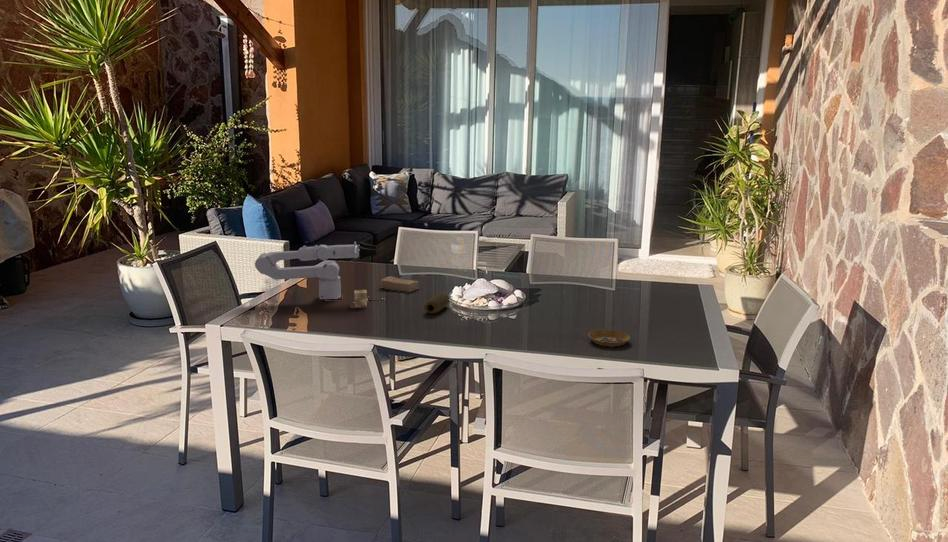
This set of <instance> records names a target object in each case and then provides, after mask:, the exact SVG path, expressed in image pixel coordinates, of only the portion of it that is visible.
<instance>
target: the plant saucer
mask: <svg viewBox="0 0 948 542" xmlns="http://www.w3.org/2000/svg"><path fill="white" fill-rule="evenodd" d="M588 337H589V339H591V341H592V342H593V343H595V344H596V345H598V344H599V346H601V345H602V346H603V347H607V346H609V347H610V348H611V347H612V348H614V347H615V346H617V347H621V345H622V346H624V345H625V344H626V343H628V341H629V340H630V339H631V337H630V334H628V333H625V332H624V331H623V332H622V331H619V330H614V329H596V330H592V331H590V332H589V333H588ZM605 337H607V338H608V339H609V340H610V339H612V338H613V339H612V340H611V341H617V340H616V338H619V339H621V340H623V342H604V341H600V340H602V339H603V338H605ZM609 347H608V348H609ZM615 348H616V347H615Z"/></svg>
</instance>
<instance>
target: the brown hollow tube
mask: <svg viewBox="0 0 948 542" xmlns="http://www.w3.org/2000/svg"><path fill="white" fill-rule="evenodd" d="M449 303H450V296H449V295H448V294H447V293H446V292H443V291H441V292H438V293H437V294H435V295H433V297H431V298H430V299H429V300H428V301H426V303H425V304H424V306H423V309H424V311H425V312H426V313H427V314H432V315H433V314H437V313H439V312H440V311H442V310H443V309H444V308H445V307H446V306H448V304H449Z"/></svg>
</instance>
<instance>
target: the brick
mask: <svg viewBox="0 0 948 542" xmlns="http://www.w3.org/2000/svg"><path fill="white" fill-rule="evenodd" d="M379 287H380V289H382V288H387V289H392V290H391V291H393V290H399V291H398V292H400V291H406V292H405V293H408V292H411V291H413V292H415V291H414V290H416V289H419V287H420V286H419V281H418V280H413V279H404V278H398V277H395V276H386V277H384V278H382V279H380V281H379ZM387 289H386V290H387ZM416 291H417V290H416ZM411 293H412V292H411Z"/></svg>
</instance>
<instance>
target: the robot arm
mask: <svg viewBox="0 0 948 542" xmlns="http://www.w3.org/2000/svg"><path fill="white" fill-rule="evenodd" d="M377 253H378V252H377V245H373V244H369V243H365V242H362V241H359V244H357V241H354V243H353V244H334V245H327V244H319V245H318V244H316V245H313V246H307V245H303V246H302V247H300V248H299V249H298V250H286V251H282V250H281V251H270V252H268V253H265V252H263V253H261V254H260V255H259V256H258V258H257V259H256V260H255V262H254V267H255V269H256V270H257V271H258V272H259V273H260V275H264V276H267V277H269V278H271V279H273V280H279V281H280V280H292V279H309V278H319V279H318V298H319V299H338V298H340V297H341V295H342V292H341V291H342V287H341V286H342V285H341V284H342V283H341V281H342V280H341V276H340V275H339V273H340V269H341V268H340V265H339V264H338V263H337V262H336V261H329V262H327V263H323V264H318V265H308V266H305V265H304V266H290V267H280V266H279V265H278V262H281V261H285V260H293V259H295V260H296V259H299V260H300V261H302V262H303V261H305V262H306V261H317V259H318V260H320V261H327V260H328V259H353V258H354V259H358V258H359V261H362V260H364V259H367V258H370V257H372V256H376V255H378V254H377ZM322 296H323V297H322Z"/></svg>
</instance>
